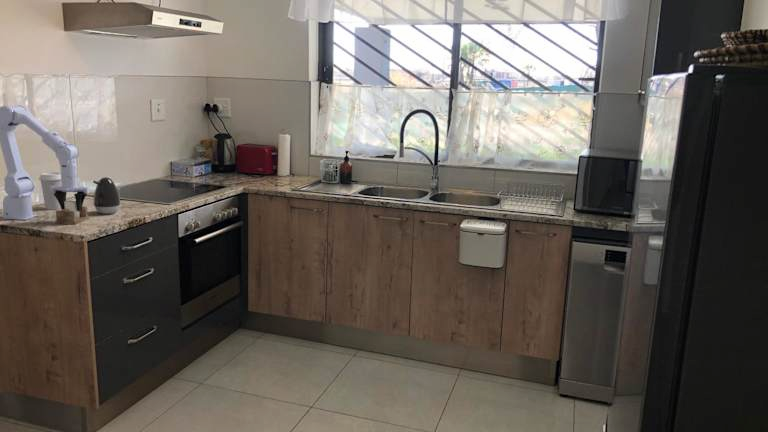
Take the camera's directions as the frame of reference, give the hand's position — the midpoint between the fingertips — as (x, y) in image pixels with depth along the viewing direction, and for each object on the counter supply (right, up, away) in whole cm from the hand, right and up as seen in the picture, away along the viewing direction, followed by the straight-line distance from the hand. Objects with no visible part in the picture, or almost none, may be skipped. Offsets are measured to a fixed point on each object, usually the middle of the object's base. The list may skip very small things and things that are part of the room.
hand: (71, 210), depth 237 cm
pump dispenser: (+6, -1, +17) cm, 18 cm away
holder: (0, -4, +1) cm, 4 cm away
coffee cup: (-19, +1, +21) cm, 28 cm away
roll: (0, -3, +1) cm, 3 cm away
